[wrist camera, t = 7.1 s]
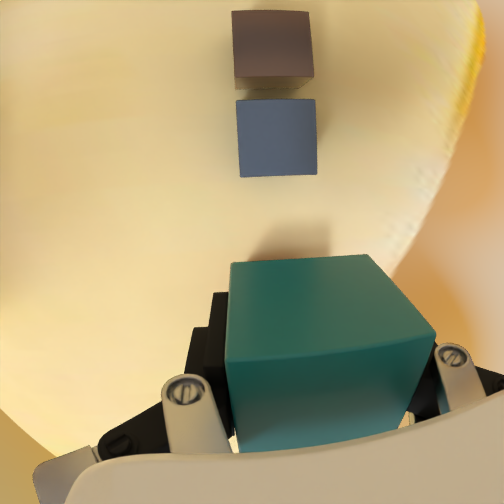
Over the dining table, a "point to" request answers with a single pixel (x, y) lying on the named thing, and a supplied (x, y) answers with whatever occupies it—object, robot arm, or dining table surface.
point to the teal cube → (319, 351)
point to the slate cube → (277, 137)
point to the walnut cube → (271, 49)
